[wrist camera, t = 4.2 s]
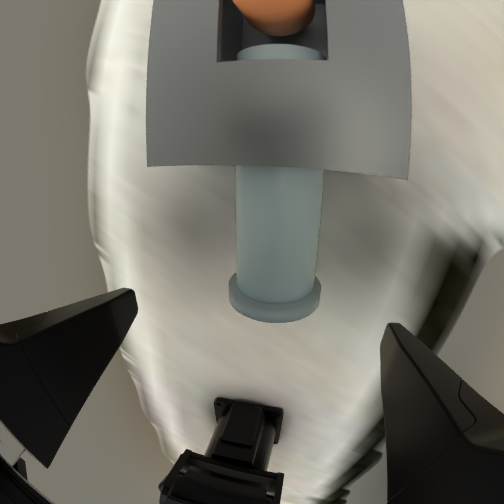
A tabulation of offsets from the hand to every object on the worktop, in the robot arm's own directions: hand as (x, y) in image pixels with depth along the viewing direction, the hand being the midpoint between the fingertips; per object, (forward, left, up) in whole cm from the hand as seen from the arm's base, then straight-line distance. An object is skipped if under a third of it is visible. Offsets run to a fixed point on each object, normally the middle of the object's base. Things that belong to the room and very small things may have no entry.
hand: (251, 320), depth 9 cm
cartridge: (+4, 0, -8) cm, 9 cm away
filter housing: (+10, 0, -9) cm, 13 cm away
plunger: (+12, 0, -5) cm, 13 cm away
